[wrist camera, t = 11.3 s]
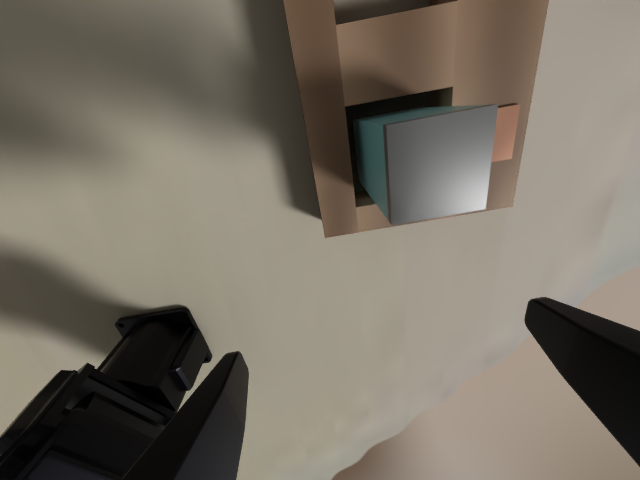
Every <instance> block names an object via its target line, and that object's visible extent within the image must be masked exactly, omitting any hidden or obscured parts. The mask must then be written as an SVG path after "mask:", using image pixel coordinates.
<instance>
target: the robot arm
mask: <svg viewBox="0 0 640 480" xmlns="http://www.w3.org/2000/svg"><path fill="white" fill-rule="evenodd" d="M184 314H185V315H184ZM525 324H526V326H527V328H528V330H529V331H530V332H531V334H532V335H533V337H534V338H535V339H536V341H537V342H538V344H539V345H540V346H541V348H542V349H543V350H544V352H545V353H546V355H547V356H548V357H549V359H550V360H551V361H552V363H553V364H554V366H555V367H556V369H557V370H558V371H559V373H560V374H561V375H562V376H563V377H564V379H565V380H566V381H567V383H568V384H569V385H570V386H571V387H572V388H573V390H574V391H575V392H576V393H577V394H578V395H579V396H580V398H581V399H582V400H583V401H584V402H585V403H586V405H587V406H588V407H589V408H590V409H591V411H592V412H593V413H594V414H595V415H596V416H597V418H598V419H599V420H600V421H601V422H602V423H603V424H604V426H605V427H606V428H607V429H608V430H609V432H610V433H611V434H612V435H613V436H614V437H615V439H616V440H617V441H618V442H619V443H620V444H621V446H622V447H623V448H624V449H625V450H626V451H627V453H628V454H629V455H630V456H631V457H632V459H634V461H635V462H636V463H637V464H638V466H639V467H640V331H638V330H635V329H633V328H630V327H627V326H624V325H622V324H619V323H616V322H613V321H611V320H608V319H605V318H602V317H599V316H597V315H594V314H591V313H588V312H585V311H583V310H580V309H577V308H575V307H572V306H569V305H566V304H564V303H561V302H558V301H555V300H553V299H550V298H547V297H540V298H535V299H531V300H530V301H529V302H528V305H527V310H526V314H525ZM115 326H116V328H117V329H118V331H119V332H120V333H121V335H122V336H123V338H122V339H121V340H120V342H119V343H118V344H117V345H116V346H115V348H114V349H113V350H112V351H111V352H110V354H109V355H108V356H107V357H106V359H105V360H104V361H103V362H102V363H101V365H100V366H99V367H98V368H97V369H95V366H93V365H91V364H89V363H86V364H85V365H84V366H83V367H82V368H80V369H79V370H78V371H75V370H73V371H68V370H61V371H60V372H59V373H57V374H56V375H55V376H54V377H53V378H52V379H51V380H50V382H49V383H48V384H47V385H46V386H45V387H44V388H43V389H42V390H41V391H40V392H39V393H38V394H37V395H36V396H35V397H34V398H33V399H32V400H31V402H30V403H29V404H28V405H27V406H26V407H25V408H24V409H23V410H22V412H21V413H20V414H19V415H18V416H17V417H16V419H15V420H14V421H13V422H12V423H11V424H10V426H9V427H8V428H7V429H6V430H5V431H4V433H3V434H2V435H1V436H0V480H236V477H237V472H238V466H239V460H240V454H241V449H242V443H243V437H244V430H245V420H246V406H247V393H248V379H249V372H248V368H247V365H246V363H245V361H244V358H243V356H242V354H241V353H240V352H239V351H236V352H230V353H227V354H225V355H224V356H223V358H222V359H221V360H220V361H219V362H218V364H217V365H216V366H215V367H214V368H213V370H212V371H211V372H210V373H209V375H208V376H207V377H206V378H205V379H204V381H203V382H202V383H201V384H200V385H199V387H198V388H197V389H196V390H195V391H194V393H193V394H192V395H191V396H190V397H189V399H188V400H187V401H186V402H185V403H184V405H183V406H182V407H181V408H180V409H179V407H180V404H181V402H182V400H183V398H184V395H185V393H186V391H189V390H191V388H192V387H193V385H194V382H195V380H196V378H197V375H198V373H199V370H200V368H201V366H202V364H203V363H208V362H210V361H211V359H212V354H211V352H210V350H209V347H208V345H207V343H206V341H205V339H204V337H203V335H202V333H201V331H200V330H199V328H198V326H197V324H196V322H195V320H194V318H193V317H192V315H191V313H190V311H189V310H188V309H186V308H180V309H174V310H167V311H161V312H155V313H149V314H142V315H136V316H130V317H124V318H120V319H118V321H117V322H116V323H115ZM178 409H179V411H178ZM177 411H178V412H177Z"/></svg>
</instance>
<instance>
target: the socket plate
mask: <svg viewBox="0 0 640 480" xmlns="http://www.w3.org/2000/svg"><path fill="white" fill-rule="evenodd" d="M283 2H284V8H285V13H286V19H287V25H288V30H289V36H290V42H291V47H292V53H293V59H294V64H295V70H296V76H297V81H298V87H299V93H300V98H301V104H302V110H303V116H304V121H305V127H306V133H307V138H308V144H309V150H310V155H311V161H312V167H313V172H314V178H315V184H316V189H317V195H318V201H319V206H320V212H321V218H322V223H323V229H324V235H325V238H327V237H333V236H339V235H345V234H351V233H357V232H363V231H369V230H375V229H381V228H387V227H393V226H399V225H405V224H411V223H417V222H422V221H428V220H434V219H440V218H446V217H452V216H458V215H464V214H470V213H476V212H482V211H488V210H494V209H500V208H506V207H512V206H513V202H514V196H515V191H516V185H517V179H518V173H519V168H520V162H521V156H522V151H523V145H524V139H525V133H526V128H527V122H528V116H529V111H530V105H531V99H532V94H533V88H534V82H535V76H536V71H537V65H538V59H539V54H540V48H541V42H542V36H543V31H544V25H545V19H546V14H547V8H548V2H549V0H430V6H429V7H424V8H419V9H414V10H409V11H404V12H399V13H394V14H389V15H384V16H379V17H374V18H369V19H364V20H359V21H354V22H349V23H344V24H339V25H336V22H335V13H334V3H333V0H283ZM426 91H429V101H428V107H444V106H467V105H490V104H498V111H497V119H496V127H495V136H494V144H493V152H492V161H491V169H490V177H489V186H488V194H487V202H486V209H484V210H478V211H472V212H466V213H461V214H455V215H449V216H443V217H438V218H432V219H426V220H420V221H414V222H409V223H403V224H397V225H391V224H390V222H389V221H388V220H387V218H386V217H385V216H384V214H383V213H382V212H381V210H380V209H379V207H378V206H377V205H376V203H375V202H374V201H373V199H372V198H371V197H370V195H369V194H368V192H367V191H362V192H356V193H354V185H353V176H352V167H351V158H350V149H349V140H348V131H347V121H346V112H345V107H346V106H351V105H356V104H362V103H367V102H372V101H378V100H383V99H388V98H394V97H399V96H405V95H410V94H415V93H421V92H426Z"/></svg>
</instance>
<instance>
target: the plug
mask: <svg viewBox="0 0 640 480" xmlns="http://www.w3.org/2000/svg"><path fill="white" fill-rule="evenodd" d="M497 111H498V104H490V105H467V106H444V107H420V108H411V109H406V110H401V111H396V112H390V113H385V114H380V115H375V116H369V117H364V118H359V119H354V120H353V127H354V137H355V146H356V156H357V165H358V175H359V182H360V183H361V184H362V186H363V187H364V188H365V190H366V191H367V192H368V194H369V195H370V197H371V198H372V199H373V201H374V202H375V203H376V205H377V206H378V207H379V209H380V210H381V212H382V213H383V214H384V216H385V217H386V218H387V220H388V221H389V222H390V224H391V225H397V224H403V223H409V222H414V221H420V220H426V219H432V218H438V217H443V216H449V215H455V214H461V213H466V212H472V211H478V210H484V209H486V202H487V194H488V186H489V177H490V169H491V161H492V152H493V144H494V136H495V127H496V119H497Z"/></svg>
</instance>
